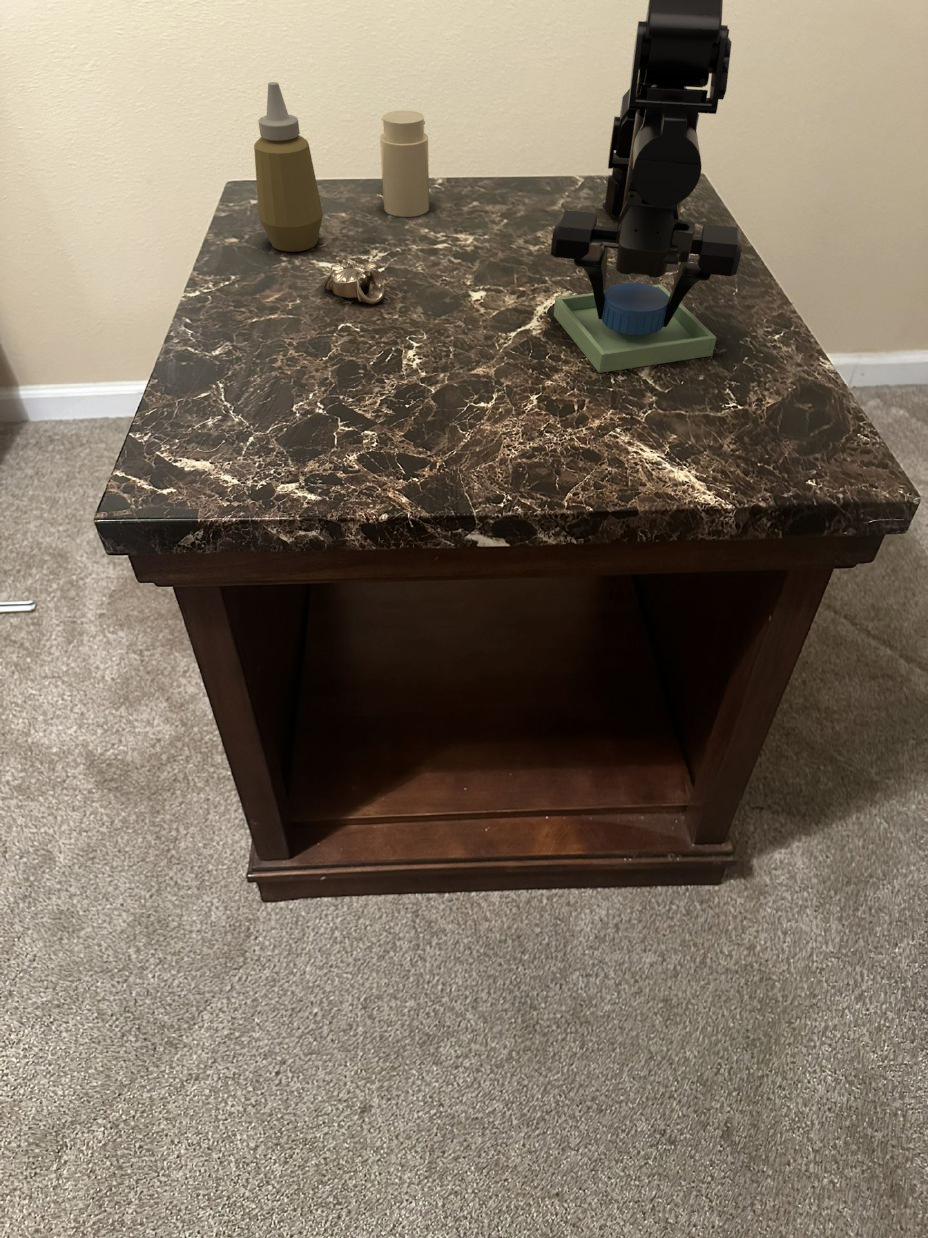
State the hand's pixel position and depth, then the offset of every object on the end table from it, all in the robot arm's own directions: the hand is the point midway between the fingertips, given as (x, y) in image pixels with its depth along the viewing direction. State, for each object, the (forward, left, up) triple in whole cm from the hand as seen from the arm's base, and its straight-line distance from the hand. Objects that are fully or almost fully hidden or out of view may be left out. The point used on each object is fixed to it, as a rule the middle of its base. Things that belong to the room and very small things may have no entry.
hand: (632, 321), depth 90 cm
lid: (0, 0, +2) cm, 3 cm away
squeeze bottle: (+32, -34, -2) cm, 47 cm away
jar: (+15, -42, -2) cm, 45 cm away
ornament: (+27, -18, -2) cm, 33 cm away
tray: (0, 0, -2) cm, 2 cm away
